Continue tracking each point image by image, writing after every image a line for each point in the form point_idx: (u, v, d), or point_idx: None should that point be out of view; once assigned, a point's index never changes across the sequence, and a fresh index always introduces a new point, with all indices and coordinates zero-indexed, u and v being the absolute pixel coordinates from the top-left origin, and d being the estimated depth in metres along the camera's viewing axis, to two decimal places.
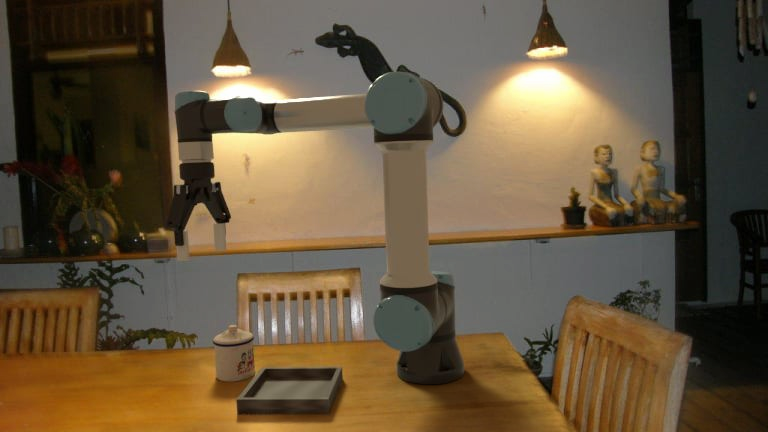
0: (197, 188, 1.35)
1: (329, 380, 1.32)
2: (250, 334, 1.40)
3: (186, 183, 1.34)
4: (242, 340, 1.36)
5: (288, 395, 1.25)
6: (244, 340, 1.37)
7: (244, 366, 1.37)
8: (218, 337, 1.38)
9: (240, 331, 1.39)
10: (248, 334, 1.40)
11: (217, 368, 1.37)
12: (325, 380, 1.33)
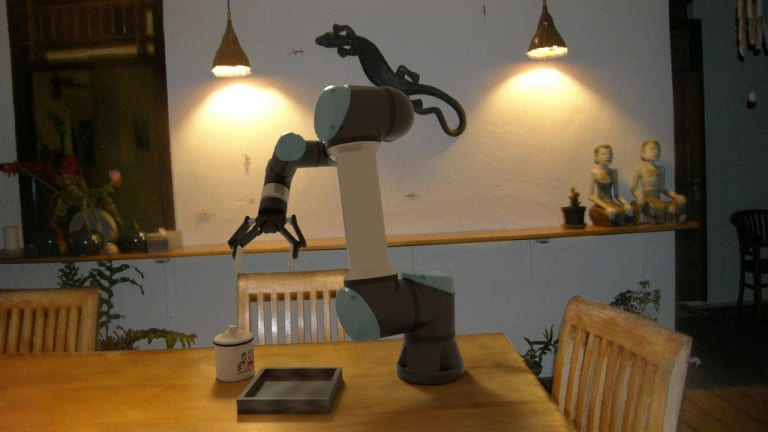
0: None
1: (329, 380, 1.32)
2: (250, 334, 1.40)
3: None
4: (242, 340, 1.36)
5: (288, 395, 1.25)
6: (244, 340, 1.37)
7: (244, 366, 1.37)
8: (218, 337, 1.38)
9: (240, 331, 1.39)
10: (248, 334, 1.40)
11: (217, 368, 1.37)
12: (325, 380, 1.33)
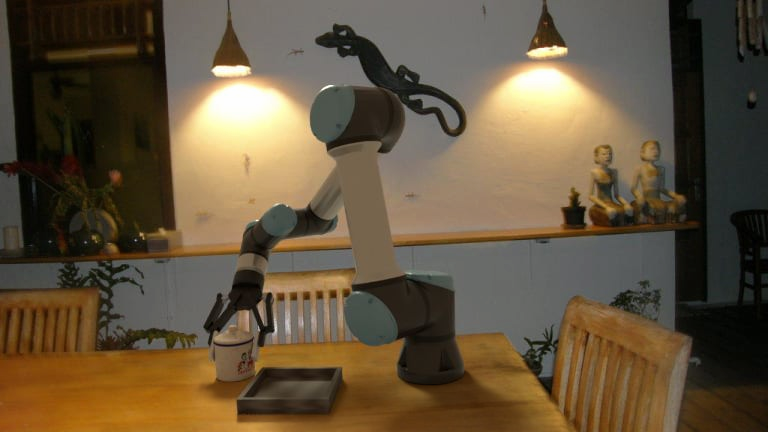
0: None
1: (329, 380, 1.32)
2: (250, 334, 1.40)
3: None
4: (242, 340, 1.36)
5: (288, 395, 1.25)
6: (244, 340, 1.37)
7: (244, 366, 1.37)
8: (218, 337, 1.38)
9: (240, 331, 1.39)
10: (248, 334, 1.40)
11: (217, 368, 1.37)
12: (325, 380, 1.33)
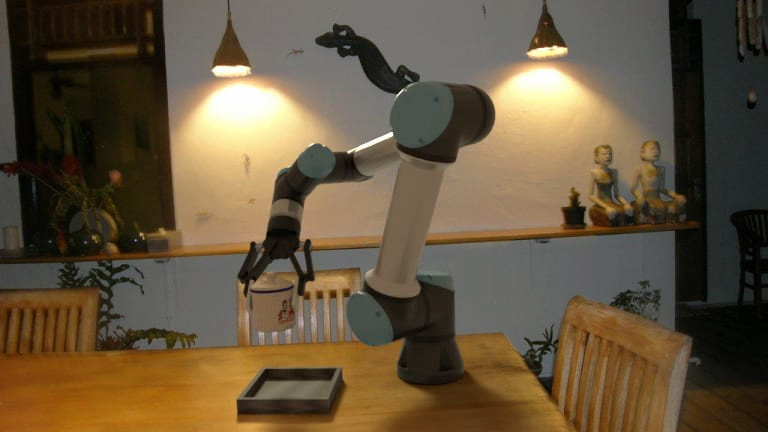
0: None
1: (329, 380, 1.32)
2: (290, 281, 1.27)
3: None
4: (283, 286, 1.24)
5: (288, 395, 1.25)
6: (285, 286, 1.24)
7: (285, 315, 1.24)
8: (255, 284, 1.25)
9: (279, 277, 1.26)
10: (288, 281, 1.27)
11: (255, 318, 1.24)
12: (325, 380, 1.33)
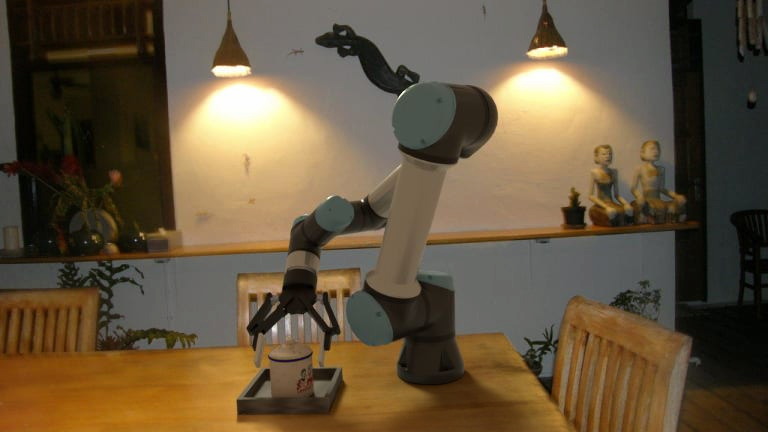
0: None
1: (329, 380, 1.32)
2: (308, 347, 1.25)
3: None
4: (302, 355, 1.21)
5: None
6: (304, 355, 1.22)
7: (303, 384, 1.22)
8: (274, 351, 1.23)
9: (298, 344, 1.24)
10: (307, 348, 1.25)
11: (273, 386, 1.22)
12: (325, 380, 1.33)
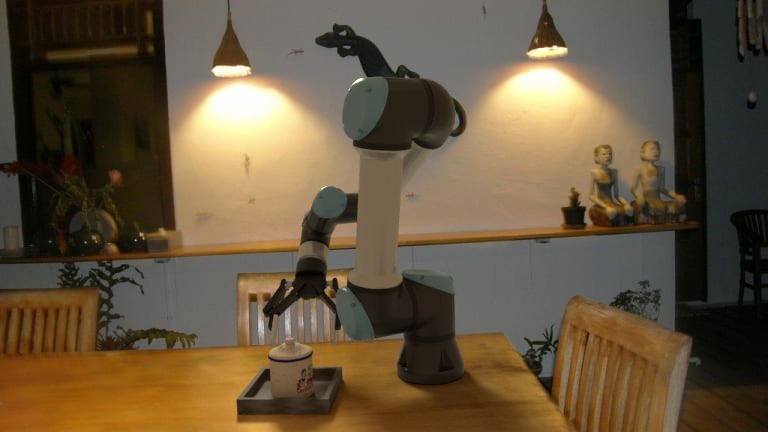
0: None
1: (329, 380, 1.32)
2: (308, 347, 1.25)
3: None
4: (302, 355, 1.21)
5: None
6: (304, 355, 1.22)
7: (303, 384, 1.22)
8: (274, 351, 1.23)
9: (298, 344, 1.24)
10: (307, 348, 1.25)
11: (273, 386, 1.22)
12: (325, 380, 1.33)
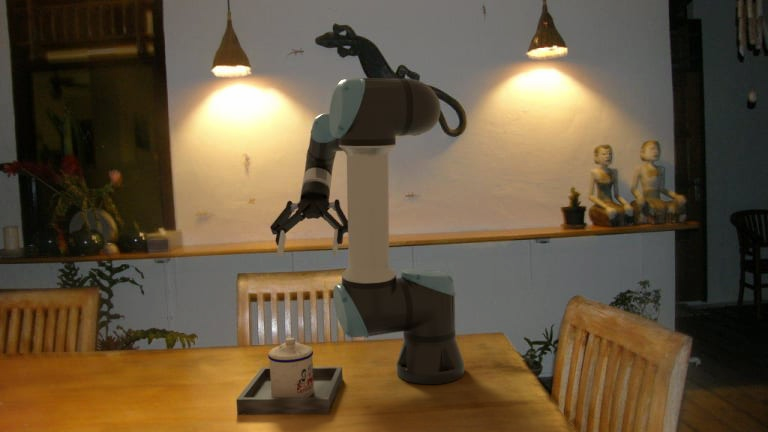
0: None
1: (329, 380, 1.32)
2: (309, 347, 1.25)
3: None
4: (302, 355, 1.21)
5: None
6: (304, 355, 1.22)
7: (303, 384, 1.22)
8: (274, 351, 1.23)
9: (298, 344, 1.24)
10: (307, 348, 1.25)
11: (273, 386, 1.22)
12: (325, 380, 1.33)
